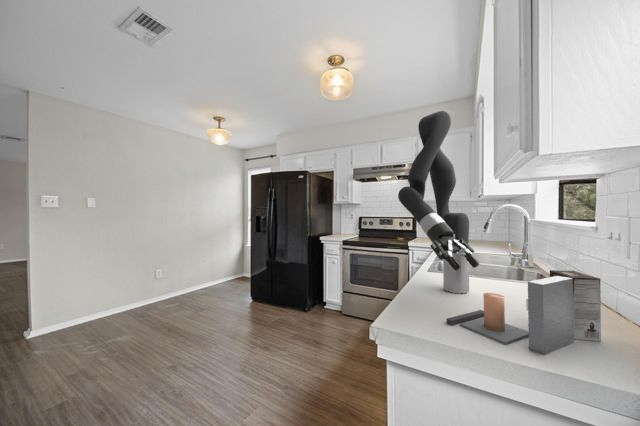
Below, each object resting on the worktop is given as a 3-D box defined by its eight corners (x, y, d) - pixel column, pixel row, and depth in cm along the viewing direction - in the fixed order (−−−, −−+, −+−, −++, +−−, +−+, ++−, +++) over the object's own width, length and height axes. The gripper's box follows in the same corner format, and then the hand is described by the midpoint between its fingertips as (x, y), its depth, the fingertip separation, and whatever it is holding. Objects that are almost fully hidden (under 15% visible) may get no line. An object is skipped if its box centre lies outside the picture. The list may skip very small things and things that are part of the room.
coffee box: (548, 324, 73) (547, 269, 74) (574, 326, 72) (573, 270, 72) (573, 339, 64) (572, 276, 65) (603, 342, 63) (602, 278, 63)
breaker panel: (552, 335, 67) (551, 274, 67) (573, 342, 63) (572, 278, 63) (523, 346, 61) (521, 280, 61) (544, 355, 57) (543, 284, 57)
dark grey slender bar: (480, 315, 81) (480, 309, 81) (486, 317, 80) (486, 311, 80) (446, 324, 74) (446, 318, 74) (451, 327, 73) (451, 320, 73)
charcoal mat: (486, 318, 78) (486, 316, 78) (532, 335, 67) (532, 332, 67) (460, 325, 73) (460, 323, 73) (505, 344, 62) (505, 342, 62)
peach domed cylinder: (491, 323, 73) (490, 292, 73) (508, 329, 69) (508, 296, 69) (480, 325, 71) (479, 294, 71) (497, 333, 67) (497, 299, 67)
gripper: (427, 221, 82) (460, 262, 72) (456, 220, 88) (491, 258, 78) (415, 236, 87) (444, 277, 77) (443, 234, 93) (474, 271, 83)
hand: (467, 267), depth 77 cm, fingers open, 8 cm apart
